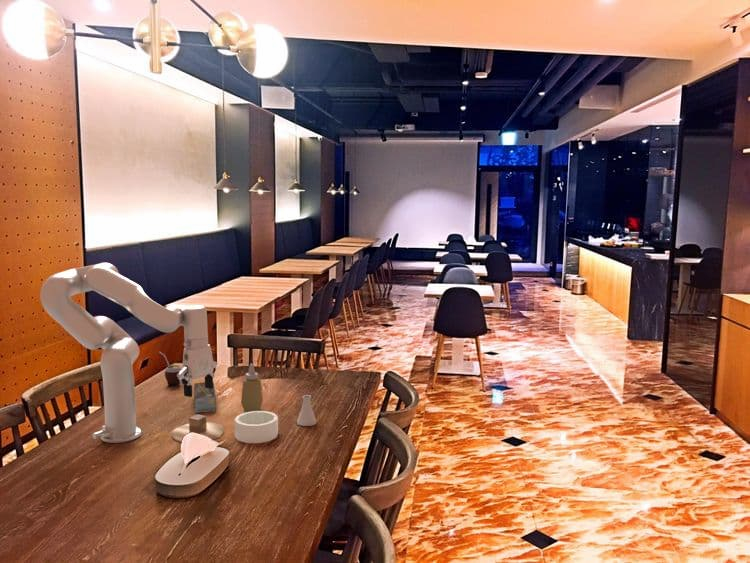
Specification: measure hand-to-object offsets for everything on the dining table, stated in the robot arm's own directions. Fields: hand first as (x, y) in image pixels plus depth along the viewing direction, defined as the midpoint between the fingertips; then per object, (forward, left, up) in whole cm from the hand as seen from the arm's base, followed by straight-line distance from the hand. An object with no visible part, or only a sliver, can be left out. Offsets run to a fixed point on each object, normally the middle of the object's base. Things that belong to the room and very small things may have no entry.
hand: (198, 392), depth 209 cm
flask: (+27, -26, -15) cm, 40 cm away
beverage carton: (+23, +20, -15) cm, 34 cm away
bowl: (+9, -18, -15) cm, 24 cm away
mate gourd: (+34, +48, -15) cm, 61 cm away
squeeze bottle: (+27, -1, -15) cm, 30 cm away
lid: (0, 0, -15) cm, 15 cm away
